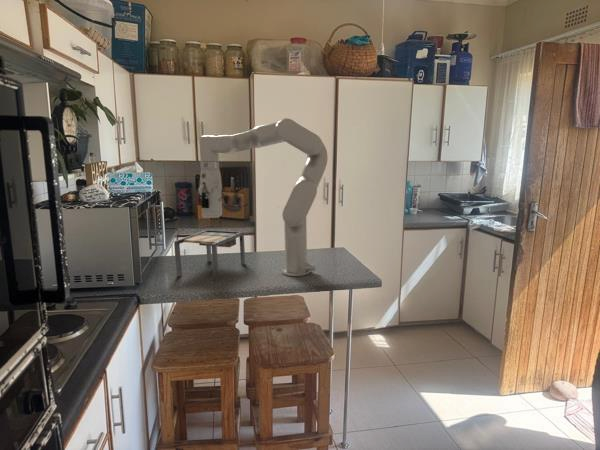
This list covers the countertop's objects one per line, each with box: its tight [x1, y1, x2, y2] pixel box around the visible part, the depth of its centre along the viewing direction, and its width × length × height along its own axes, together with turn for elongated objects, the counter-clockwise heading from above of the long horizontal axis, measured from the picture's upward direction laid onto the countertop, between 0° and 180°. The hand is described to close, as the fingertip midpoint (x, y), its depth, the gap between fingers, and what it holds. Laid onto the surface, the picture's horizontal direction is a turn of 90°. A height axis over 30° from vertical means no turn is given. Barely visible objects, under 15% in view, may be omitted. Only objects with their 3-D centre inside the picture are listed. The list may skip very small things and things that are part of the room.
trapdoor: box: [183, 232, 237, 248], centre depth 176 cm, size 16×17×5 cm
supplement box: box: [201, 187, 223, 219], centre depth 168 cm, size 7×7×13 cm
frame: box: [173, 229, 246, 282], centre depth 177 cm, size 20×25×16 cm
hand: (211, 206), depth 168 cm, fingers closed on supplement box, 8 cm apart
